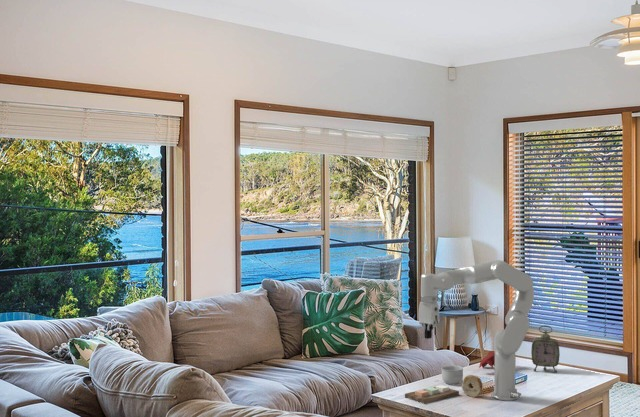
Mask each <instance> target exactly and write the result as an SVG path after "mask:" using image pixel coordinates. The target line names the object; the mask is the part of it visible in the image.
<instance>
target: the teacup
mask: <svg viewBox="0 0 640 417" xmlns="http://www.w3.org/2000/svg"><path fill="white" fill-rule="evenodd" d="M463 369H464V368H463V367H462V366H461V365H456V364H455V365H444V366H442V367H441V369H440V370H441V377H442V381H443V382H445V383H446V384H448V385H459V384H460V383H461V382H463V380H464V372H463V371H464V370H463Z"/></svg>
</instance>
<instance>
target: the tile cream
mask: <svg viewBox="0 0 640 417" xmlns="http://www.w3.org/2000/svg"><path fill="white" fill-rule="evenodd" d="M435 387H436V389H439V391H440V392H445V391H449V388H450V387H449V386H447V385H443V384H441V385H435Z"/></svg>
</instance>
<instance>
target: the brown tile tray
mask: <svg viewBox="0 0 640 417" xmlns="http://www.w3.org/2000/svg"><path fill="white" fill-rule="evenodd" d="M432 387H433V388H436V386H432ZM425 389H426V388H424V389H422V390H425ZM415 391H416V390H414V391H411V392H405V393H404V398H406V399H408V400H411V401H415V402H417V401H418V402H417V403H420V402H421V404H423V403H424V404H427V402H428V403H432V402H437V401H440V400H444V399H447V398H451V397H456V396H460V391H459V390H456V389H452V388H450V387H449V391H445V392H440V391H439V393H437V394H433V395H432V394H429V393H428V396H424V397H420V396H417V395H415ZM431 401H432V402H431Z"/></svg>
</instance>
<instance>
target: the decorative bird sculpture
mask: <svg viewBox="0 0 640 417" xmlns="http://www.w3.org/2000/svg"><path fill="white" fill-rule="evenodd" d="M487 365H488V366H490V367H491V368H493V370H494V371H495V350H493V351H490V352H489V353H488V354H486V356H485V357H483V358H482V359H481V361H480V363H479V366H478V367H479V369H480V368H484V367H486V366H487Z"/></svg>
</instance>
